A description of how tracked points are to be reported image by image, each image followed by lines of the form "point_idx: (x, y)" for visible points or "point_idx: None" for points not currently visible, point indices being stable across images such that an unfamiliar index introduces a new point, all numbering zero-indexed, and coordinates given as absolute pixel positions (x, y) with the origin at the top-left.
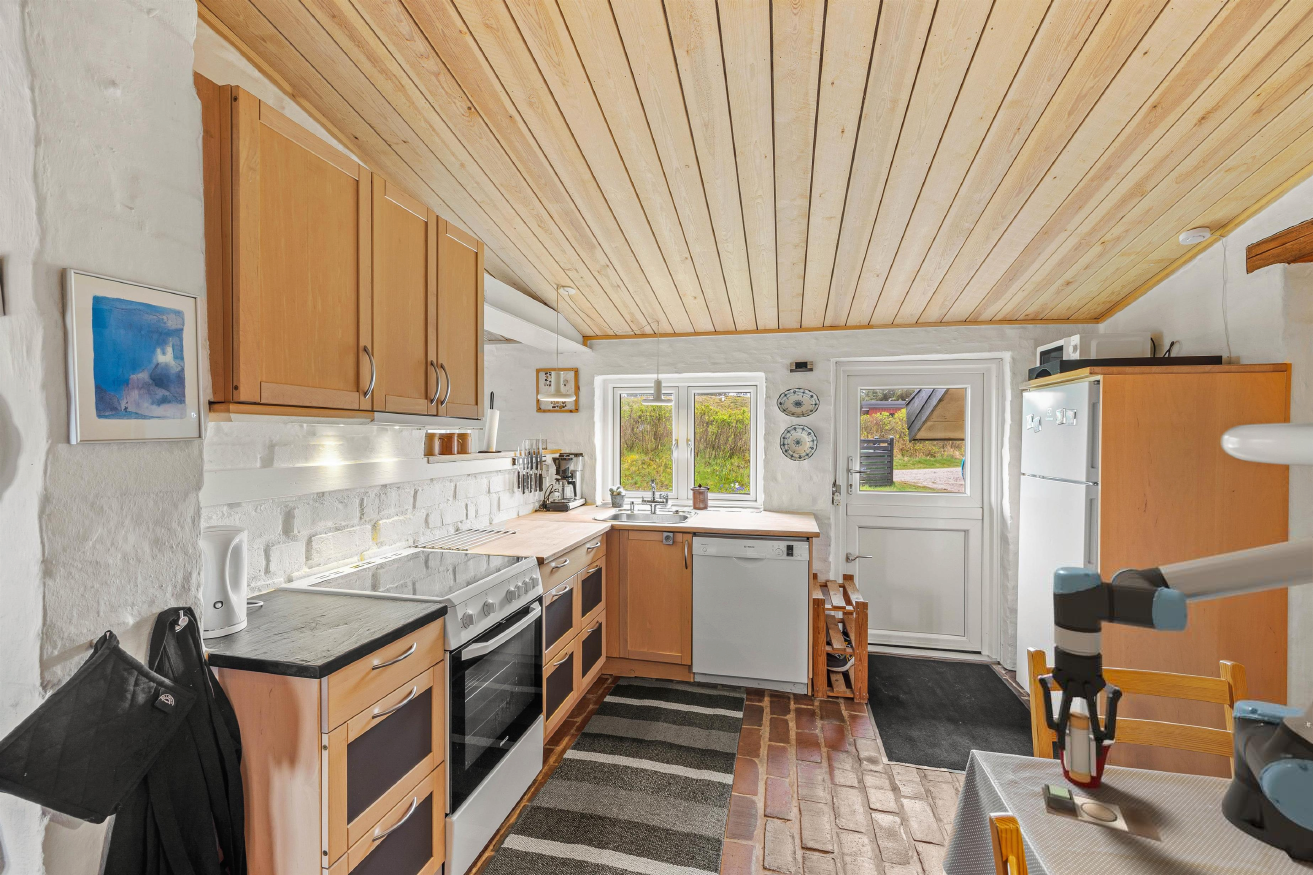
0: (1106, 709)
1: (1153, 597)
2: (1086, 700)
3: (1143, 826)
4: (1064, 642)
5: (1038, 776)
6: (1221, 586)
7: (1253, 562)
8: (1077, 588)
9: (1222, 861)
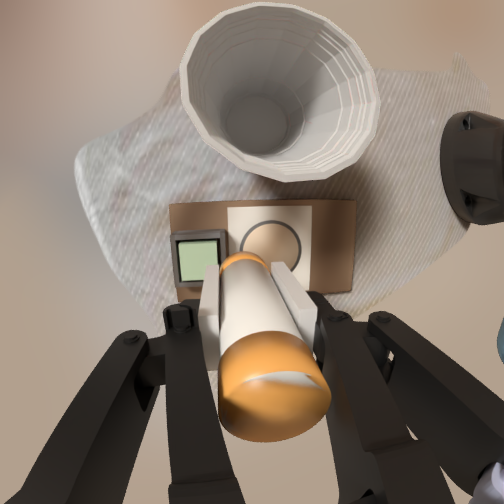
0: (440, 403)
1: None
2: (350, 500)
3: (337, 257)
4: None
5: (170, 137)
6: None
7: None
8: None
9: (405, 276)
